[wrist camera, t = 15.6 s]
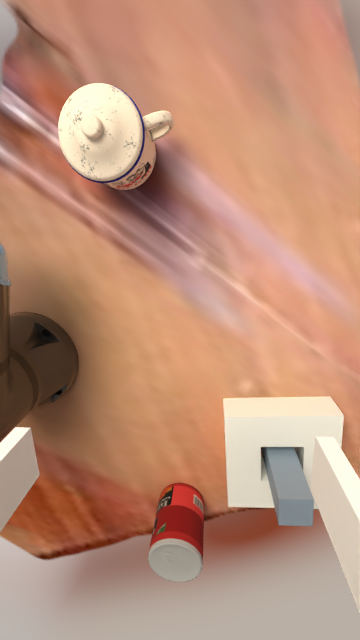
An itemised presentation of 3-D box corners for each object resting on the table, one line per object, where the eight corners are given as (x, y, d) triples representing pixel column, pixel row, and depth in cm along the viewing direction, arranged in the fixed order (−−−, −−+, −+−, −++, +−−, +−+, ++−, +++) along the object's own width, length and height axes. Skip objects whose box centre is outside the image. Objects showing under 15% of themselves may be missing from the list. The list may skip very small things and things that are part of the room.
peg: (262, 452, 50) (278, 525, 38) (261, 431, 49) (279, 499, 37) (287, 452, 50) (312, 526, 37) (287, 431, 49) (314, 499, 36)
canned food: (165, 476, 54) (153, 536, 43) (209, 488, 53) (209, 552, 43) (155, 509, 56) (142, 573, 45) (198, 521, 56) (195, 589, 45)
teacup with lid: (104, 202, 42) (65, 191, 31) (78, 130, 40) (26, 91, 28) (189, 170, 40) (180, 147, 28) (166, 93, 37) (147, 34, 26)
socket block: (226, 481, 52) (228, 506, 48) (223, 398, 48) (224, 416, 43) (324, 482, 51) (336, 509, 46) (330, 396, 46) (343, 415, 42)
